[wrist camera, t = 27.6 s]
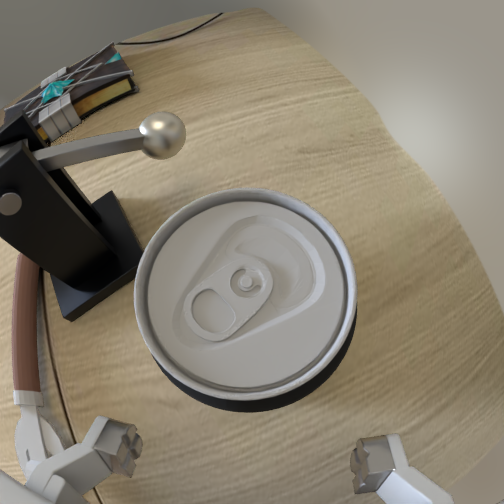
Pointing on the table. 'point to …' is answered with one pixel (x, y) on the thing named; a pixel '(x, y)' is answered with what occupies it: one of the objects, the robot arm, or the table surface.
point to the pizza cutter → (29, 373)
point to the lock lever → (116, 143)
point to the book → (75, 93)
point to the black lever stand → (63, 225)
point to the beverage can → (247, 299)
